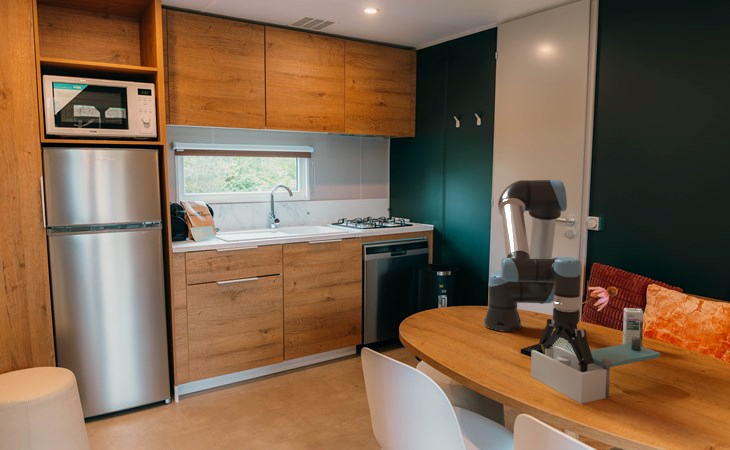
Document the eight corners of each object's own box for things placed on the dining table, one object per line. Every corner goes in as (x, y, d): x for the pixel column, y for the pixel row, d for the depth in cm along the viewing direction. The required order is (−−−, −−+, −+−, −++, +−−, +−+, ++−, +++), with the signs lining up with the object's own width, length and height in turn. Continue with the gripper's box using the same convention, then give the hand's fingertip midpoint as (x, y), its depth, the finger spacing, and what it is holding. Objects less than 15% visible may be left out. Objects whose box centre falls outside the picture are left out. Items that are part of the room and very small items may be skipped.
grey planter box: (557, 371, 171) (557, 345, 170) (610, 397, 151) (611, 369, 150) (530, 376, 167) (531, 350, 166) (581, 404, 147) (582, 375, 146)
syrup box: (624, 349, 190) (626, 311, 188) (622, 344, 195) (623, 306, 193) (642, 351, 188) (643, 312, 186) (639, 346, 193) (640, 308, 192)
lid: (662, 357, 157) (663, 342, 157) (606, 369, 149) (607, 353, 148) (631, 346, 167) (631, 332, 167) (577, 356, 159) (578, 341, 158)
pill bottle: (574, 384, 161) (575, 358, 160) (568, 389, 157) (569, 362, 156) (559, 380, 164) (559, 354, 163) (553, 384, 160) (553, 358, 159)
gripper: (528, 300, 168) (527, 363, 170) (588, 321, 145) (585, 394, 147) (547, 298, 171) (545, 360, 173) (608, 317, 148) (605, 389, 150)
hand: (564, 376), depth 160 cm, fingers open, 13 cm apart
